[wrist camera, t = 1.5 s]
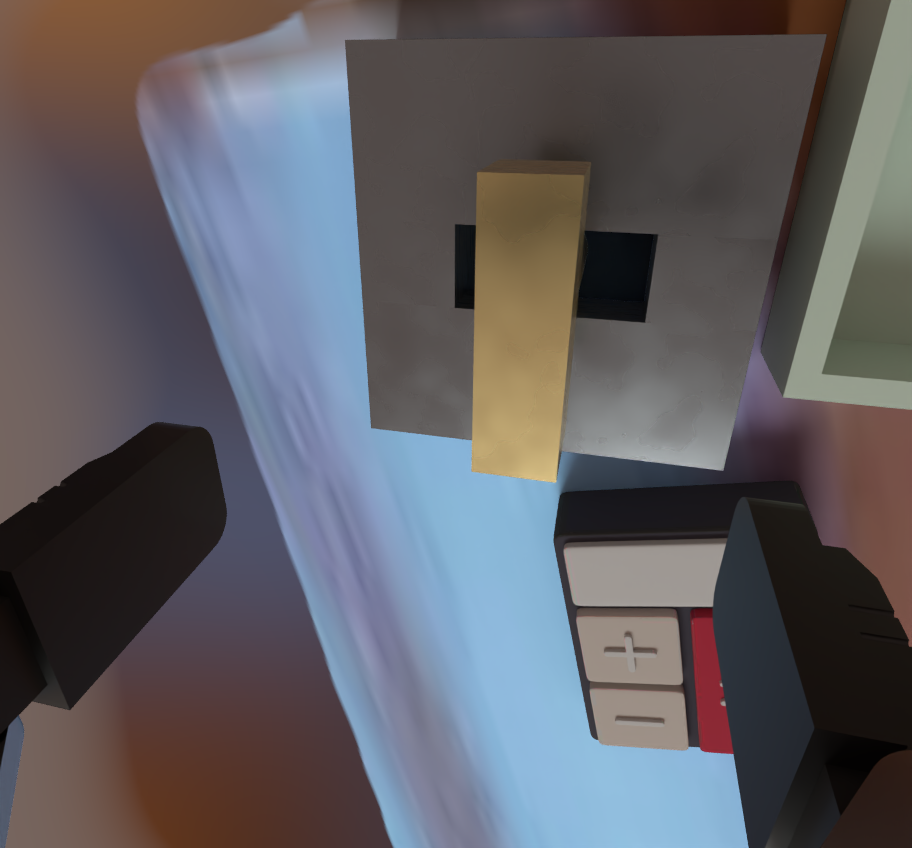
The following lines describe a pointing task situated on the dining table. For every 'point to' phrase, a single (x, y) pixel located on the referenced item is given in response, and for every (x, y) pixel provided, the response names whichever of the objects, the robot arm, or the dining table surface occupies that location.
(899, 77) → the tray
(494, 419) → the t key
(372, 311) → the lock block
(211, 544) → the robot arm
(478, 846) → the dining table surface
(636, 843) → the dining table surface
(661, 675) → the calculator
